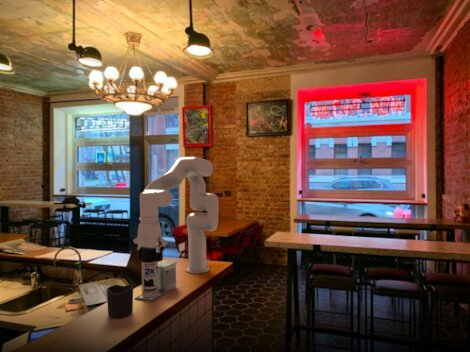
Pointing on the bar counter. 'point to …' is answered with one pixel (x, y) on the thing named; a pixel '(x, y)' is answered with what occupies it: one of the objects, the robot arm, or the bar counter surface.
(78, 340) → the bar counter surface
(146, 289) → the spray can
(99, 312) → the bar counter surface
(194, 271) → the robot arm
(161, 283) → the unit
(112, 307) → the pen holder
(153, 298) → the pad
